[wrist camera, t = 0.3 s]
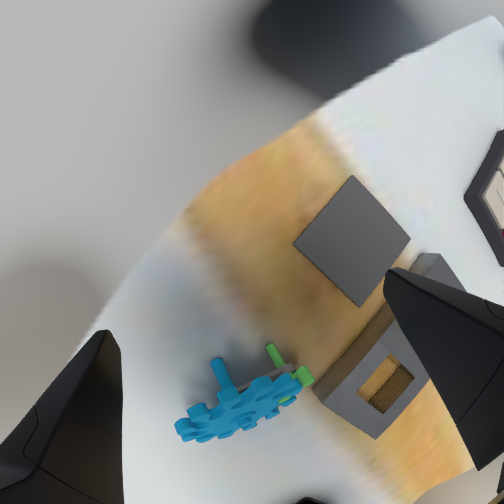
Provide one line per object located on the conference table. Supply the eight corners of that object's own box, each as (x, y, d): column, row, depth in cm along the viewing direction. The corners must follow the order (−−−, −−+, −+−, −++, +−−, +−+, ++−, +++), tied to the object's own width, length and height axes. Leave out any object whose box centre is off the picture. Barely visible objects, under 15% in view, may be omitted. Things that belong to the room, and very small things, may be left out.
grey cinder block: (458, 303, 25) (476, 307, 22) (363, 425, 24) (375, 439, 22) (420, 253, 25) (439, 253, 22) (311, 388, 24) (321, 403, 21)
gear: (202, 454, 21) (158, 437, 14) (180, 400, 25) (135, 358, 18) (314, 404, 24) (325, 364, 17) (283, 355, 28) (280, 296, 21)
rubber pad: (408, 238, 25) (410, 238, 24) (357, 306, 24) (359, 307, 24) (350, 175, 24) (352, 174, 24) (292, 243, 24) (293, 243, 23)
